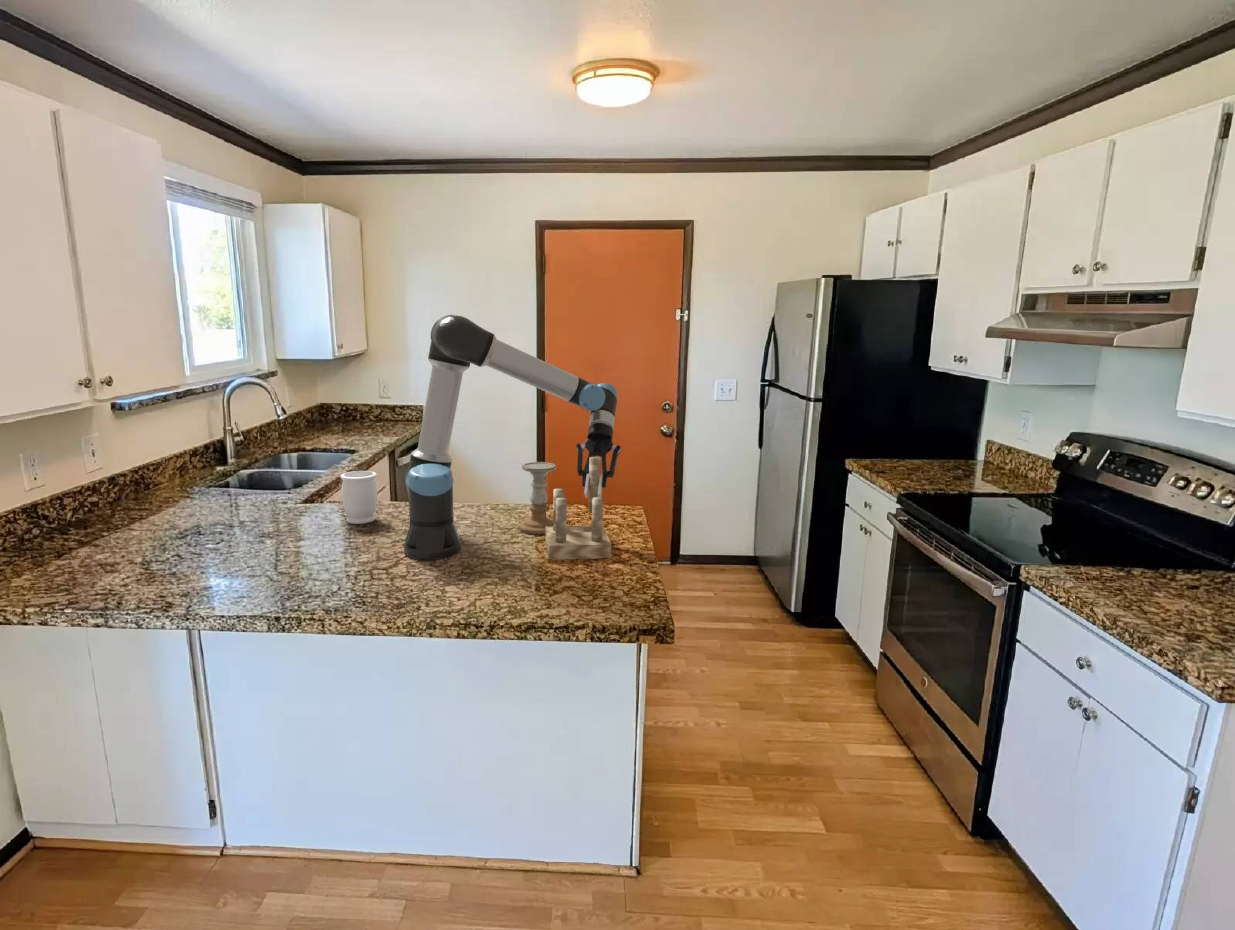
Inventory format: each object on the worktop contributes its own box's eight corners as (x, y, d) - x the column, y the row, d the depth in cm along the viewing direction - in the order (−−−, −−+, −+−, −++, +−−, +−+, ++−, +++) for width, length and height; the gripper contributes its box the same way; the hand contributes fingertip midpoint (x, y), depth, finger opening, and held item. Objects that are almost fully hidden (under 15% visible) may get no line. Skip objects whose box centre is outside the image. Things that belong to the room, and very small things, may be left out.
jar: (366, 526, 203) (364, 479, 199) (336, 523, 205) (333, 476, 201) (385, 517, 213) (383, 471, 210) (356, 514, 215) (353, 469, 212)
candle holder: (542, 537, 198) (542, 471, 193) (510, 529, 204) (510, 465, 200) (566, 527, 208) (567, 464, 204) (535, 520, 214) (535, 459, 210)
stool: (548, 559, 180) (549, 502, 176) (545, 539, 196) (545, 486, 193) (610, 557, 183) (612, 501, 179) (602, 538, 199) (603, 486, 195)
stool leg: (589, 513, 191) (590, 459, 188) (587, 510, 194) (588, 456, 191) (600, 513, 192) (601, 459, 188) (598, 510, 195) (599, 456, 191)
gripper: (628, 437, 203) (621, 504, 190) (575, 435, 205) (565, 501, 192) (627, 422, 197) (620, 490, 184) (573, 420, 198) (562, 487, 186)
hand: (592, 495), depth 188 cm, fingers closed on stool leg, 3 cm apart
